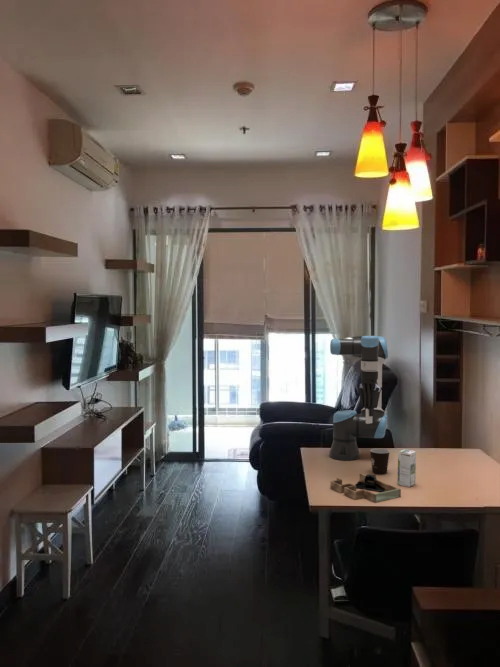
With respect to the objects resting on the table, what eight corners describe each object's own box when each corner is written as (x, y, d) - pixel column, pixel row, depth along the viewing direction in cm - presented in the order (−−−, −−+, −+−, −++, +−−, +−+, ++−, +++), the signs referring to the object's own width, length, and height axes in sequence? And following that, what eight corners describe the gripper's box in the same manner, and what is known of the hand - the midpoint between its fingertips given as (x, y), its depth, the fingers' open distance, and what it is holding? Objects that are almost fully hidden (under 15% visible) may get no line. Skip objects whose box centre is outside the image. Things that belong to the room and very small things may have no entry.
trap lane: (327, 486, 228) (327, 479, 228) (360, 480, 237) (361, 473, 237) (365, 504, 207) (365, 496, 207) (400, 496, 216) (400, 489, 216)
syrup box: (402, 481, 235) (403, 448, 234) (415, 484, 231) (416, 450, 231) (397, 484, 230) (397, 451, 230) (410, 487, 227) (410, 453, 226)
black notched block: (354, 487, 226) (353, 476, 226) (359, 481, 233) (358, 471, 233) (383, 491, 221) (383, 479, 220) (387, 485, 227) (387, 474, 227)
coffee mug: (389, 475, 243) (389, 453, 243) (370, 474, 245) (370, 452, 245) (388, 468, 255) (388, 447, 254) (369, 467, 256) (369, 446, 256)
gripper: (352, 369, 243) (352, 421, 244) (374, 372, 232) (373, 426, 233) (364, 368, 247) (364, 419, 248) (386, 371, 236) (385, 424, 237)
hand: (368, 423), depth 240 cm, fingers closed
